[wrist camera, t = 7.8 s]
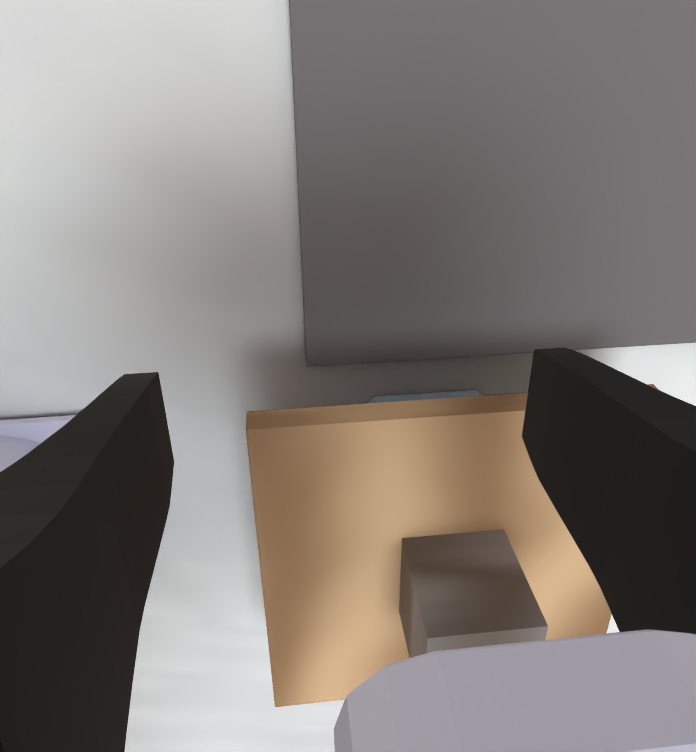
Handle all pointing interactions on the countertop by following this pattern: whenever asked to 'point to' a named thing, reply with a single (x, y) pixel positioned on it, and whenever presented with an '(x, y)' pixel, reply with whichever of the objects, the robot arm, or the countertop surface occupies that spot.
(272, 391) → the countertop surface
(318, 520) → the cover
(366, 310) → the mat
